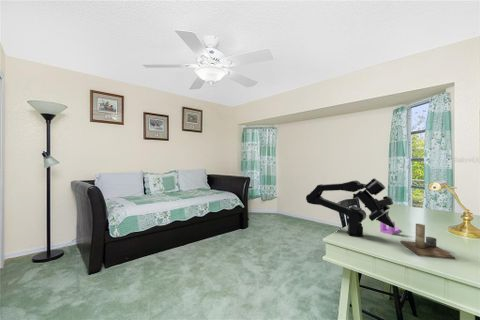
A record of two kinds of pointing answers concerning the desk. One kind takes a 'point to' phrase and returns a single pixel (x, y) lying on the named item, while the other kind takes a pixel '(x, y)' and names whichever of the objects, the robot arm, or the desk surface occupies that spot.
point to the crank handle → (423, 238)
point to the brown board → (427, 251)
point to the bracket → (388, 229)
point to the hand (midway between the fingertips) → (393, 227)
